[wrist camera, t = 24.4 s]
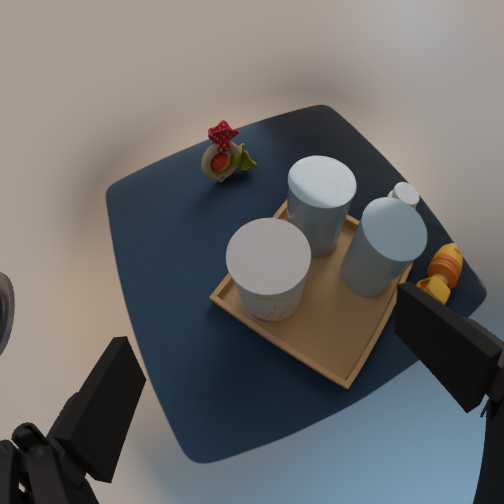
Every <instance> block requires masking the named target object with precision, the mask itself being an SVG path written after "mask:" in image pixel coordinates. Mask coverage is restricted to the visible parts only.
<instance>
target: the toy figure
mask: <svg viewBox="0 0 504 504" xmlns="http://www.w3.org/2000/svg"><path fill="white" fill-rule="evenodd" d="M462 260H463V257H462V253H461V251H460V249H459V246H458V245H457V244H455V243H451V244H446V245H444V246H443V247H441V249H440V250H439V251H438V252H437V253H436V254H435V256H434V258H433V259H432V261H431V263H430V265H429V267H428V269H427V275H428V278H425V279H423V280H420V281H419V282H418V283H417V285H416V286H417V287H419V288H420V289H422V290H423V291H425V292H426V293H428V294H429V295H430V296H432V297H433V298H435V299H436V300H438V301H439V302H441V303H442V304H443V305H445V304H446V301H447V299H448V297H449V295H450V289H451V288H454V287H455V286H456V284H457V280H458V278H459V276H460V273H461V269H462Z"/></svg>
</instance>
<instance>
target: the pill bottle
mask: <svg viewBox="0 0 504 504" xmlns="http://www.w3.org/2000/svg"><path fill="white" fill-rule="evenodd" d="M387 197H390V198H395V199H399V200H401V201H403V202H405V203H407V204H409V205H410V206H411V207H412V208H414V209H415V208H416V205H417V203H418V201H419V194H418V192H417V190H416V189H415V188H414V187H413V186H412V185H410V184H408V183H404V182H401V183H398V184H397V185H396V186H395V188H394V189H393V190H392V191H391V192H390V193H389V194H388V196H387Z"/></svg>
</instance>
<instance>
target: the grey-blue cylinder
mask: <svg viewBox="0 0 504 504" xmlns="http://www.w3.org/2000/svg"><path fill="white" fill-rule="evenodd" d="M426 243H427V230H426V227H425V224H424V222H423V220H422V218H421V217H420V215H419V214H418V213H417V211H416V210H415V209H414V208H412V207H411V206H410V205H409V204H407V203H405V202H403V201H401V200H399V199H395V198H390V197H384V198H379V199H376V200H374V201H372V202H371V203H369V204H368V206H367V207H366V208H365V210H364V212H363V214H362V217H361V219H360V221H359V224H358V226H357V228H356V230H355V233H354V235H353V237H352V239H351V242H350V244H349V246H348V248H347V250H346V252H345V254H344V257H343V259H342V262H341V275H342V278H343V280H344V282H345V284H346V285H347V286H348V288H349V289H350V290H352V291H353V292H354V293H356V294H358V295H361V296H365V297H373V296H377V295H379V294H381V293H382V292H384V291H385V290H386V289H387V288H388V287H389V286H390V285H391V284H392V283H393V282H394V281H395V280H396V279H397V278H398V277H399V276H400V275H401V274H402V273H403V272H404V271H405V270H406V269H407V268H408V267H409V266H410V265H411V264H412V263H413V262H414V261H415V260H416V259H417V258H418V257H419V256H420V255H421V254H422V252H423V251H424V249H425V247H426Z"/></svg>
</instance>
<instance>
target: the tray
mask: <svg viewBox="0 0 504 504" xmlns="http://www.w3.org/2000/svg"><path fill="white" fill-rule="evenodd" d="M272 218H276V219H281V220H284V221H287V200H286V201H285V202H284V203H283V205H282V206H281V207H280V208H279V210H278V211H277V212H276V214H275V215H274V216H273V217H272ZM358 224H359V221H358V220H356V219H354V218H352V217H351V216H349V215H347V218H346V221H345V224H344V227H343V229H342V232H341V235H340V237H339V240H338V243H337V245H336V246H335V248H334V249H333V250H332V251H330V252H329V253H327V254H325V255H322V256H316V257H313V256H311V261H310V266H309V270H308V274H307V278H306V282H305V285H304V289H303V293H302V297H301V301H300V304H299V306H298V307H297V309H296V310H295V311H294V313H293V314H291V315H290V316H289V317H287V318H285V319H283V320H280V321H276V322H267V321H262V320H259V319H257V318H255V317H254V316H252V315H251V314H250V313H249V312H248V311H247V309H246V308H245V306H244V304H243V301H242V299H241V297H240V295H239V293H238V290H237V288H236V286H235V284H234V281H233V279H232V277H231V275H230V272H229V273H228V274H227V275H226V277H225V278H224V279H223V281H222V282H221V283H220V284H219V286H218V287H217V288H216V289H215V291H214V292H213V293H212V295H211V296H210V297H209V298H210V299H211V300H212V302H214V303H215V304H216V305H218V306H219V307H221V308H222V309H223V310H225V311H226V312H228V313H229V314H230V315H232V316H233V317H235V318H236V319H237V320H239V321H240V322H242V323H243V324H245V325H246V326H247V327H249V328H250V329H252V330H253V331H255V332H256V333H258V334H259V335H261V336H262V337H263V338H265V339H266V340H268V341H269V342H271V343H272V344H274V345H275V346H277V347H278V348H280V349H282V350H283V351H285V352H286V353H288V354H289V355H291V356H292V357H294V358H295V359H297V360H299V361H300V362H302V363H303V364H305V365H306V366H308V367H310V368H311V369H313V370H314V371H316V372H318V373H319V374H321V375H323V376H324V377H326V378H328V379H329V380H331V381H333V382H334V383H336V384H338V385H339V386H341V387H343V388H345V389H349V387H350V386H351V383H352V382H353V381H354V379H355V378H356V376H357V374H358V373H359V371H360V369H361V368H362V366H363V364H364V363H365V361H366V359H367V358H368V356H369V354H370V352H371V351H372V349H373V347H374V345H375V343H376V341H377V340H378V338H379V336H380V334H381V332H382V330H383V328H384V326H385V324H386V322H387V320H388V318H389V316H390V314H391V312H392V310H393V308H394V306H395V304H396V299H397V285H398V284H402V283H405V281H406V279H407V276H408V274H409V272H410V269H411V267H412V264H413V263H412V264H411V265H410V266H409V267H408V268H407V269H406V270H405V271H404V272H403V273H402V274H401V275H400V276H399V277H398V278H397V279H396V280H395V281H394V282H393V283H392V284H391V285H390V286H389V287H388V288H387V289H386V290H385V291H384V292H382V293H381V294H379V295H377V296H373V297H365V296H361V295H358V294H356V293H354V292H353V291H352V290H350V289H349V288H348V286H347V285H346V284H345V282H344V280H343V278H342V275H341V262H342V259H343V257H344V254H345V252H346V250H347V248H348V246H349V244H350V242H351V239H352V237H353V235H354V233H355V230H356V228H357V226H358Z"/></svg>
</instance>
